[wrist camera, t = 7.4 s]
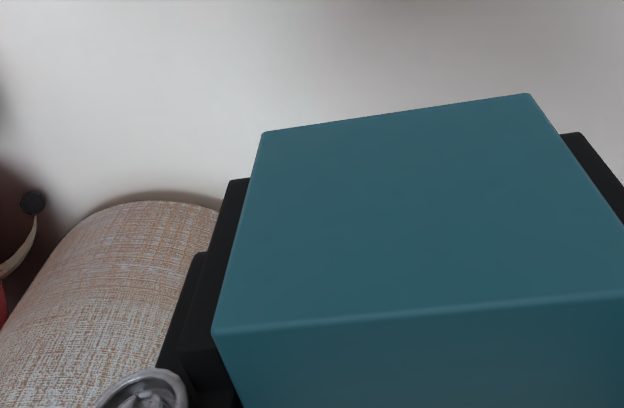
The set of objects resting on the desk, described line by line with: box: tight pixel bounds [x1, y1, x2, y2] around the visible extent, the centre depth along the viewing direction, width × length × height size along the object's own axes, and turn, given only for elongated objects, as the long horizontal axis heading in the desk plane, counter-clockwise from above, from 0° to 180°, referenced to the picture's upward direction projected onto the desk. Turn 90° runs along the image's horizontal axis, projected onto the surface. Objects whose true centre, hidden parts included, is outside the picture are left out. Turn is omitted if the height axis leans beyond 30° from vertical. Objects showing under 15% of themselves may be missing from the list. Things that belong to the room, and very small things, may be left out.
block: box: [211, 93, 624, 408], centre depth 8 cm, size 4×4×4 cm
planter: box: [0, 200, 219, 408], centre depth 31 cm, size 18×18×16 cm
